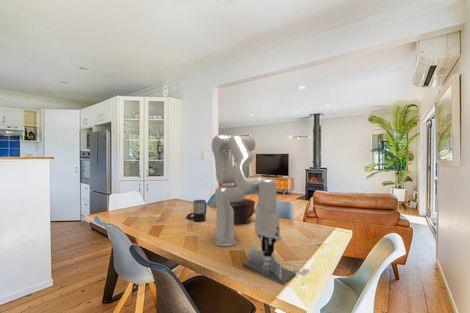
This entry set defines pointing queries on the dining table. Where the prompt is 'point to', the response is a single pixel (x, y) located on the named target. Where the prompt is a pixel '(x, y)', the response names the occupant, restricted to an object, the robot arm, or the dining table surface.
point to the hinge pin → (266, 246)
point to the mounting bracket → (302, 271)
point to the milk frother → (198, 211)
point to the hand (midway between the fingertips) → (267, 251)
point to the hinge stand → (257, 267)
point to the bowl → (242, 210)
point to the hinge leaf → (273, 267)
